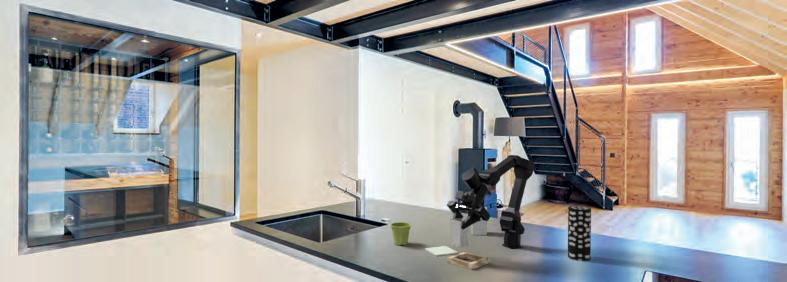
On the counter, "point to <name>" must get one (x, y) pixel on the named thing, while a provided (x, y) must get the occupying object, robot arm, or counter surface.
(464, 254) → the oak socket frame
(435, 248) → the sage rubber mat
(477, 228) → the supplement box
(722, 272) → the counter surface
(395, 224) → the plant pot
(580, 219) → the white-spotted black cylinder
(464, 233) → the steel cap block
